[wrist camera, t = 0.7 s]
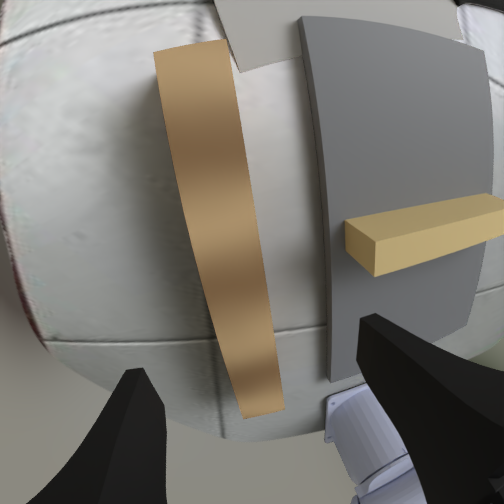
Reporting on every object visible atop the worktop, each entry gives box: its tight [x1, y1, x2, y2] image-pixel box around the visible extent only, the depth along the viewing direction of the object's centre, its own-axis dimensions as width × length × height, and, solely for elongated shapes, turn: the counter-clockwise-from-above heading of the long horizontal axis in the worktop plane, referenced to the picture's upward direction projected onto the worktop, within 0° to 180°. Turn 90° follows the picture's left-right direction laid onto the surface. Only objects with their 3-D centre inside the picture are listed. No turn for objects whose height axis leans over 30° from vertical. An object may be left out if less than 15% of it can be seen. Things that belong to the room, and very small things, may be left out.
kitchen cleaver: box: [214, 0, 504, 73], centre depth 12 cm, size 31×2×10 cm
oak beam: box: [153, 39, 285, 419], centre depth 16 cm, size 22×3×4 cm, turn 9°
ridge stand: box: [297, 16, 504, 383], centre depth 17 cm, size 26×16×4 cm, turn 9°
